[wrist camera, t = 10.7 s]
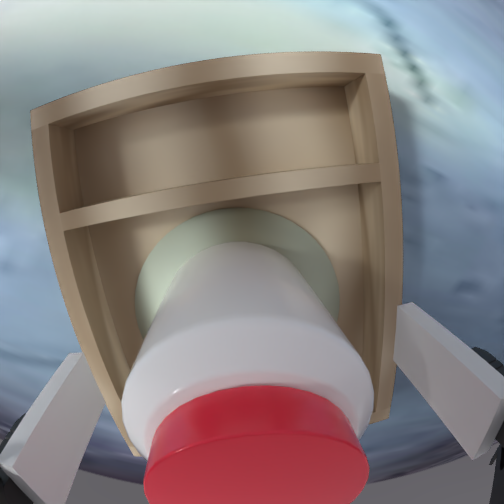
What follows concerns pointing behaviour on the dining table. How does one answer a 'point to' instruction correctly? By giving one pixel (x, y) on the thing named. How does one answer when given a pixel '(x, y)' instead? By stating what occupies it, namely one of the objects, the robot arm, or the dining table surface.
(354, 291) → the crate
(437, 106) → the dining table surface
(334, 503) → the pill bottle
